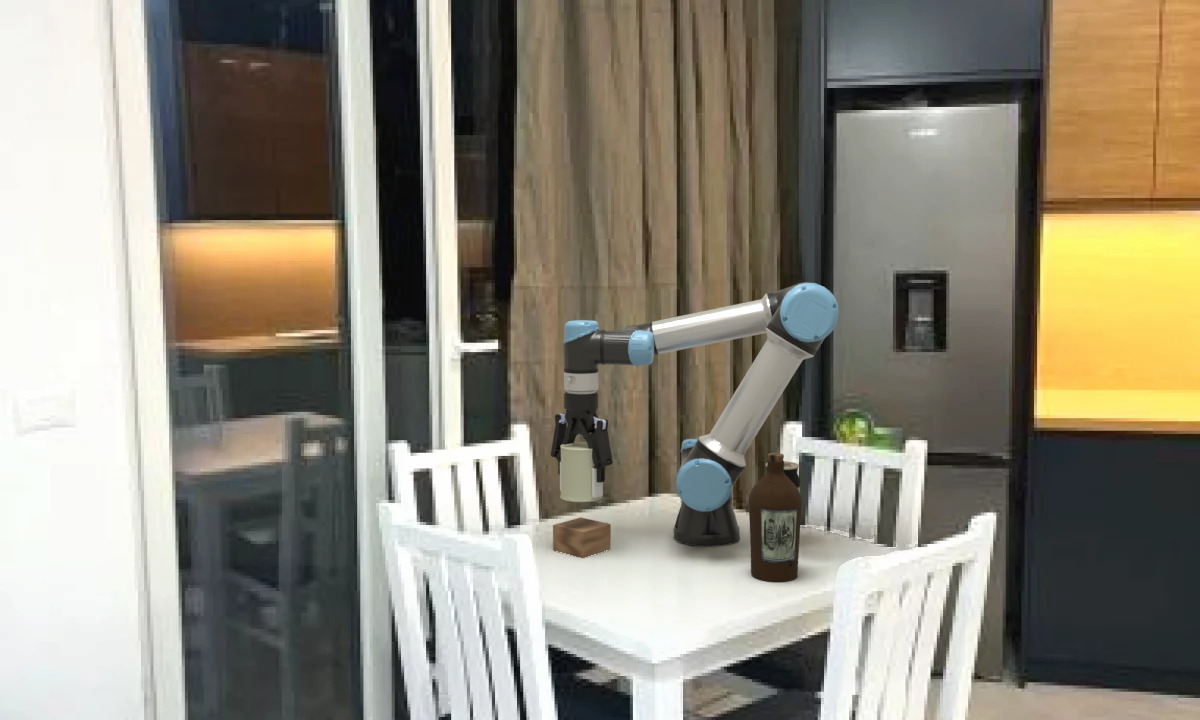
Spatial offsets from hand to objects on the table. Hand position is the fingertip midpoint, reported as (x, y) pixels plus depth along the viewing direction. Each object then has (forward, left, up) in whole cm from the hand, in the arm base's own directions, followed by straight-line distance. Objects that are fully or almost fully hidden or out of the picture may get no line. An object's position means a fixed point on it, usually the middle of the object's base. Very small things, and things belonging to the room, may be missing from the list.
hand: (581, 493), depth 236 cm
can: (0, 0, -1) cm, 1 cm away
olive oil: (-42, -12, -13) cm, 46 cm away
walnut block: (0, 0, -13) cm, 13 cm away
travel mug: (-30, -34, -13) cm, 47 cm away
